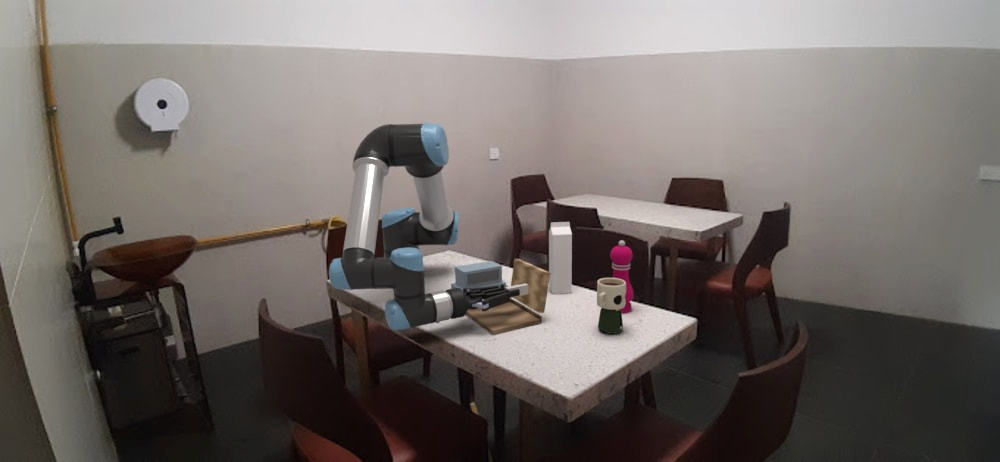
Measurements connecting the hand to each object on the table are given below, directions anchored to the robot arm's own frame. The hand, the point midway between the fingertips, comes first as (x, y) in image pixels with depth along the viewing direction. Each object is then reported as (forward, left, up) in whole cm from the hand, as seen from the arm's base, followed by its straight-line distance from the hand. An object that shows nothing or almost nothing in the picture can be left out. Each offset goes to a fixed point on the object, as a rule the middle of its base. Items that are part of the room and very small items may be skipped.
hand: (527, 288), depth 141 cm
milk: (-12, +19, -8) cm, 24 cm away
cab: (-15, -8, -8) cm, 18 cm away
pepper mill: (+10, +24, -8) cm, 28 cm away
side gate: (-1, 0, -5) cm, 6 cm away
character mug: (+20, +12, -8) cm, 25 cm away
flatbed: (-2, -8, -8) cm, 11 cm away
